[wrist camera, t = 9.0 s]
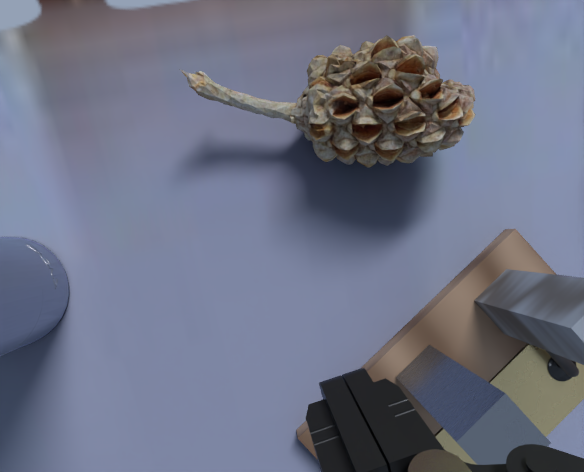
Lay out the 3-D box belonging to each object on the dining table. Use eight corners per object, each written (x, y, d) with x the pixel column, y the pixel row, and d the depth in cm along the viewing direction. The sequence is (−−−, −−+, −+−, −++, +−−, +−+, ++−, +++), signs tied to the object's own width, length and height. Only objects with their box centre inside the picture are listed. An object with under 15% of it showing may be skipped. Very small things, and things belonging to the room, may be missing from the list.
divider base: (391, 531, 35) (460, 692, 22) (296, 430, 35) (312, 536, 22) (594, 329, 36) (765, 374, 24) (505, 229, 36) (630, 222, 24)
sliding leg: (477, 465, 34) (576, 571, 23) (395, 377, 34) (456, 441, 23) (510, 432, 34) (623, 522, 23) (429, 344, 34) (505, 393, 23)
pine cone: (439, 72, 36) (504, 8, 26) (439, 178, 36) (504, 153, 26) (194, 65, 35) (164, -6, 25) (193, 174, 34) (162, 146, 25)
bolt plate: (414, 555, 35) (419, 565, 34) (361, 499, 35) (364, 507, 34) (616, 352, 36) (627, 356, 35) (566, 297, 36) (575, 299, 35)
